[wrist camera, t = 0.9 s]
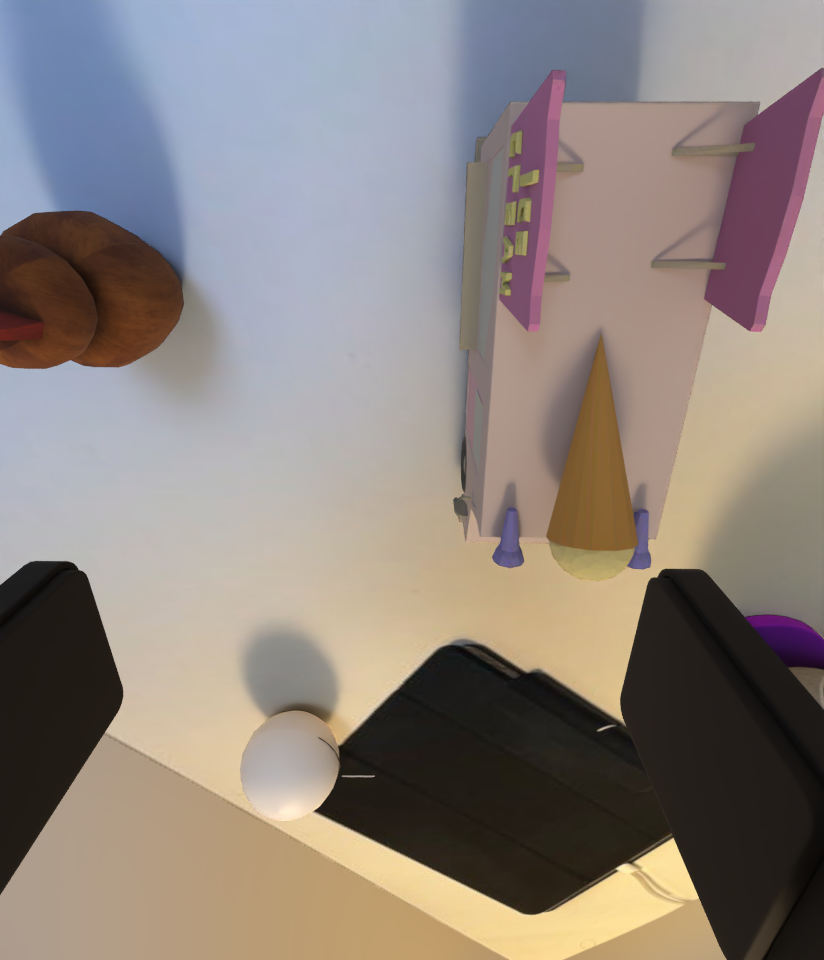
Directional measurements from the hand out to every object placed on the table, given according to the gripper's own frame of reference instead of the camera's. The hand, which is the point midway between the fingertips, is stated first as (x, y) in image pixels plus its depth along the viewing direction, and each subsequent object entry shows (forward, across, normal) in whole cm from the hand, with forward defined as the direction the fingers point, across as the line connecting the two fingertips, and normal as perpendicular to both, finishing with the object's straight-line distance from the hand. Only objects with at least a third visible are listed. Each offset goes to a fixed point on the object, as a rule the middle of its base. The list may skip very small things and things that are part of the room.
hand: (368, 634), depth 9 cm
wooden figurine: (+23, +14, -4) cm, 27 cm away
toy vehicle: (+23, -7, 0) cm, 24 cm away
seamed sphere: (+23, +7, +30) cm, 39 cm away
